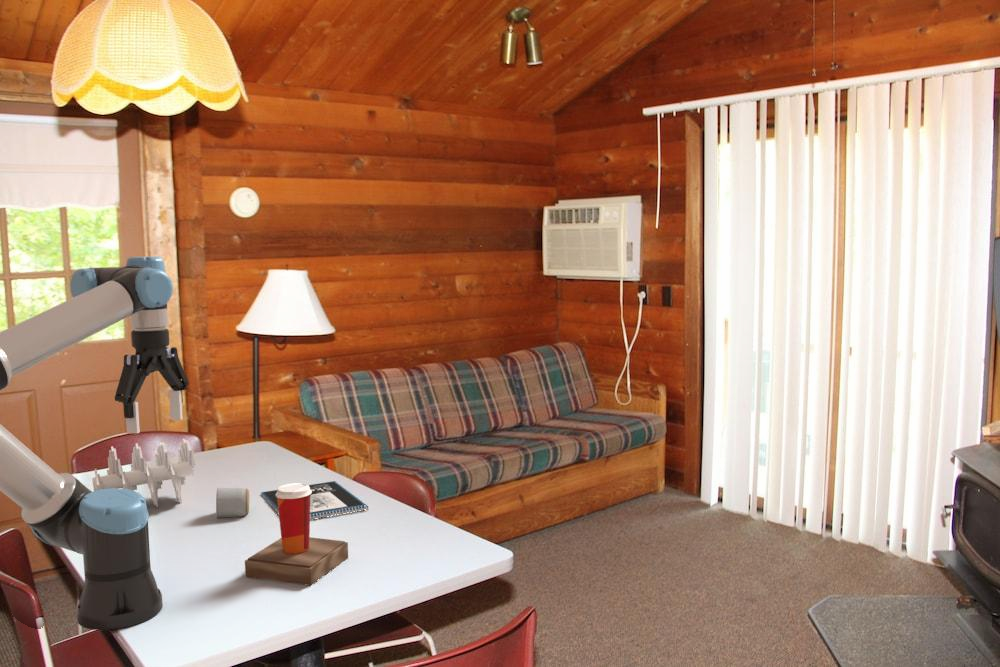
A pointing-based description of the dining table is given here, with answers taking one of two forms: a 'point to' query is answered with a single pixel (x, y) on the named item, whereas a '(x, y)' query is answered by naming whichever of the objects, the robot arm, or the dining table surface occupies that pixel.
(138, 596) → the robot arm
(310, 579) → the walnut plinth
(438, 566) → the dining table surface
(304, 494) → the paper cup
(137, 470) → the white spiked piece
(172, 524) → the dining table surface
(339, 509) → the sketchbook
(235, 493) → the grey cylinder
